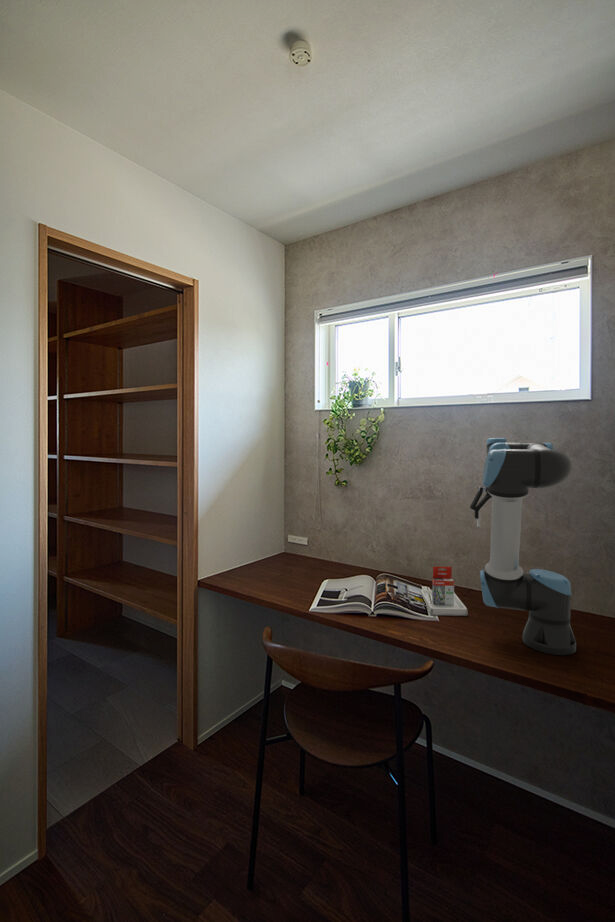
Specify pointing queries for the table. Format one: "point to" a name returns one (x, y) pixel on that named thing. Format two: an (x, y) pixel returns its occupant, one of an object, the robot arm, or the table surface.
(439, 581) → the ink box
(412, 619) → the table surface
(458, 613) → the tray
